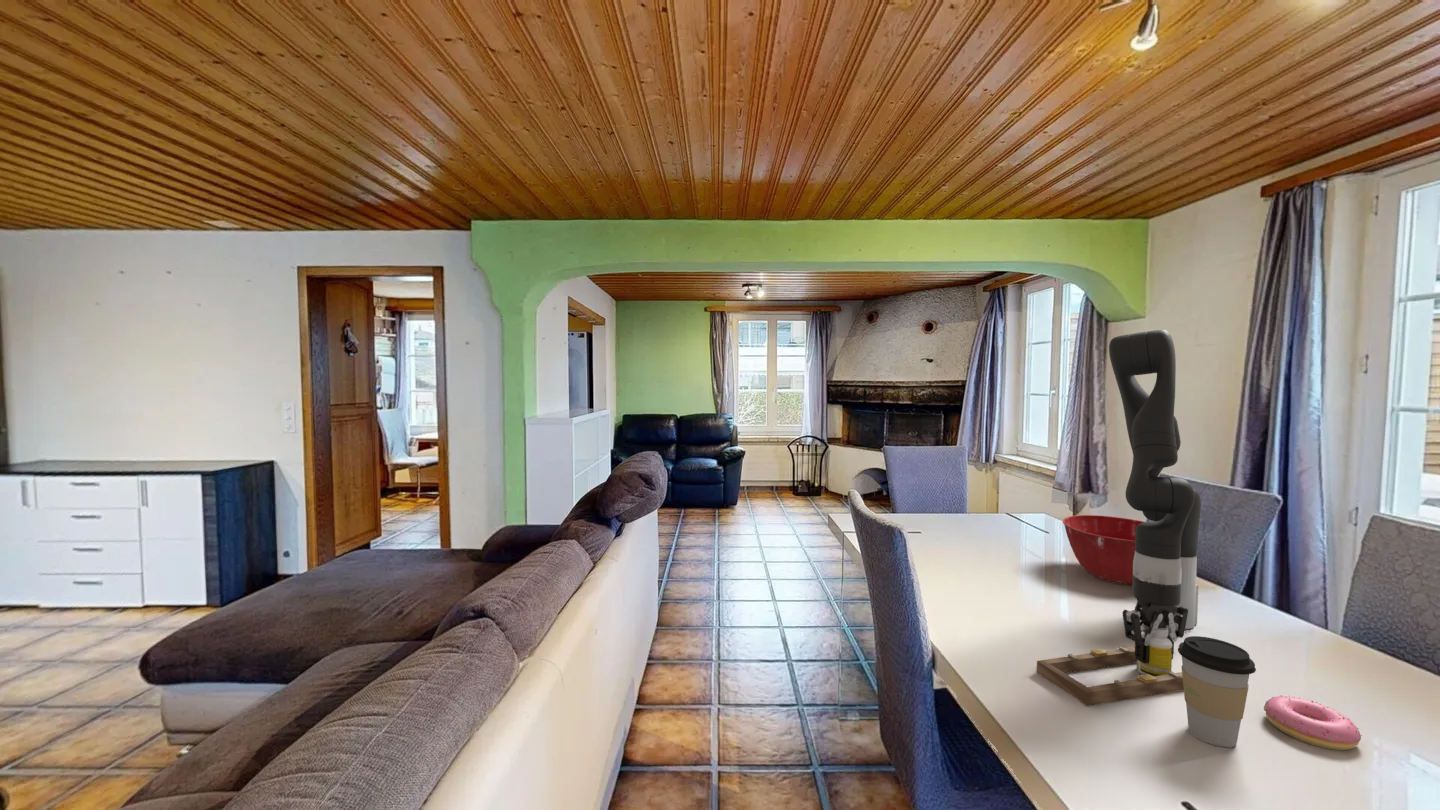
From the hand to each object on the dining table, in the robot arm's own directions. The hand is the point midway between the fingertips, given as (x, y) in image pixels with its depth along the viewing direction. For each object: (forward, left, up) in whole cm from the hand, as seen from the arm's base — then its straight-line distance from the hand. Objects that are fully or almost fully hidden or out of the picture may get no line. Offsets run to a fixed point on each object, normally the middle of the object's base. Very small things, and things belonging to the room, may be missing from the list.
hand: (1154, 659), depth 108 cm
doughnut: (-7, +20, -3) cm, 22 cm away
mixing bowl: (-44, -45, -3) cm, 63 cm away
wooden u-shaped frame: (+8, 0, -3) cm, 9 cm away
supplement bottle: (0, 0, -3) cm, 3 cm away
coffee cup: (+10, +17, -3) cm, 20 cm away
